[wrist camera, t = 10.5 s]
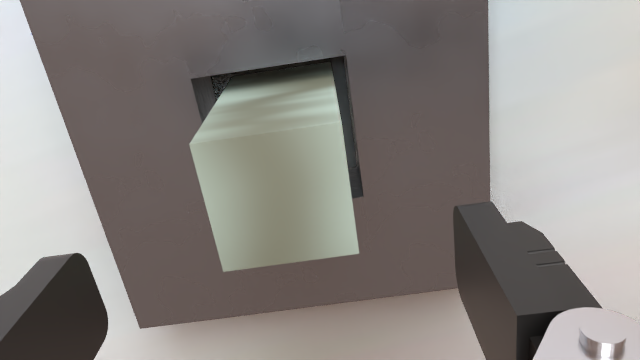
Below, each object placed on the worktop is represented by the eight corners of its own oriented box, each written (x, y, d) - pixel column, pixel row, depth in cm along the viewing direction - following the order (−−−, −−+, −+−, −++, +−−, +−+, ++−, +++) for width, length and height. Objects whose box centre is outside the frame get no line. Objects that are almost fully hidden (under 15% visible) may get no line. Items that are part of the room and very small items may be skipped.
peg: (330, 61, 20) (341, 122, 13) (343, 154, 22) (359, 253, 15) (232, 76, 21) (188, 144, 13) (252, 167, 22) (223, 271, 15)
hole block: (459, -118, 18) (486, -131, 15) (470, 245, 24) (491, 283, 21) (47, -50, 19) (1, -51, 16) (159, 286, 25) (140, 328, 22)
